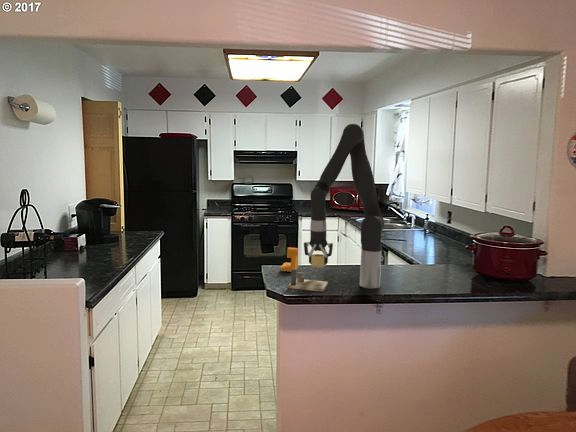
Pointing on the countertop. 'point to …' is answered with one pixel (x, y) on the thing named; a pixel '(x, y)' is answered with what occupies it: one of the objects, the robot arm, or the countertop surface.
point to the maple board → (305, 282)
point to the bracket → (293, 255)
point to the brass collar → (317, 260)
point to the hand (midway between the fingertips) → (318, 264)
